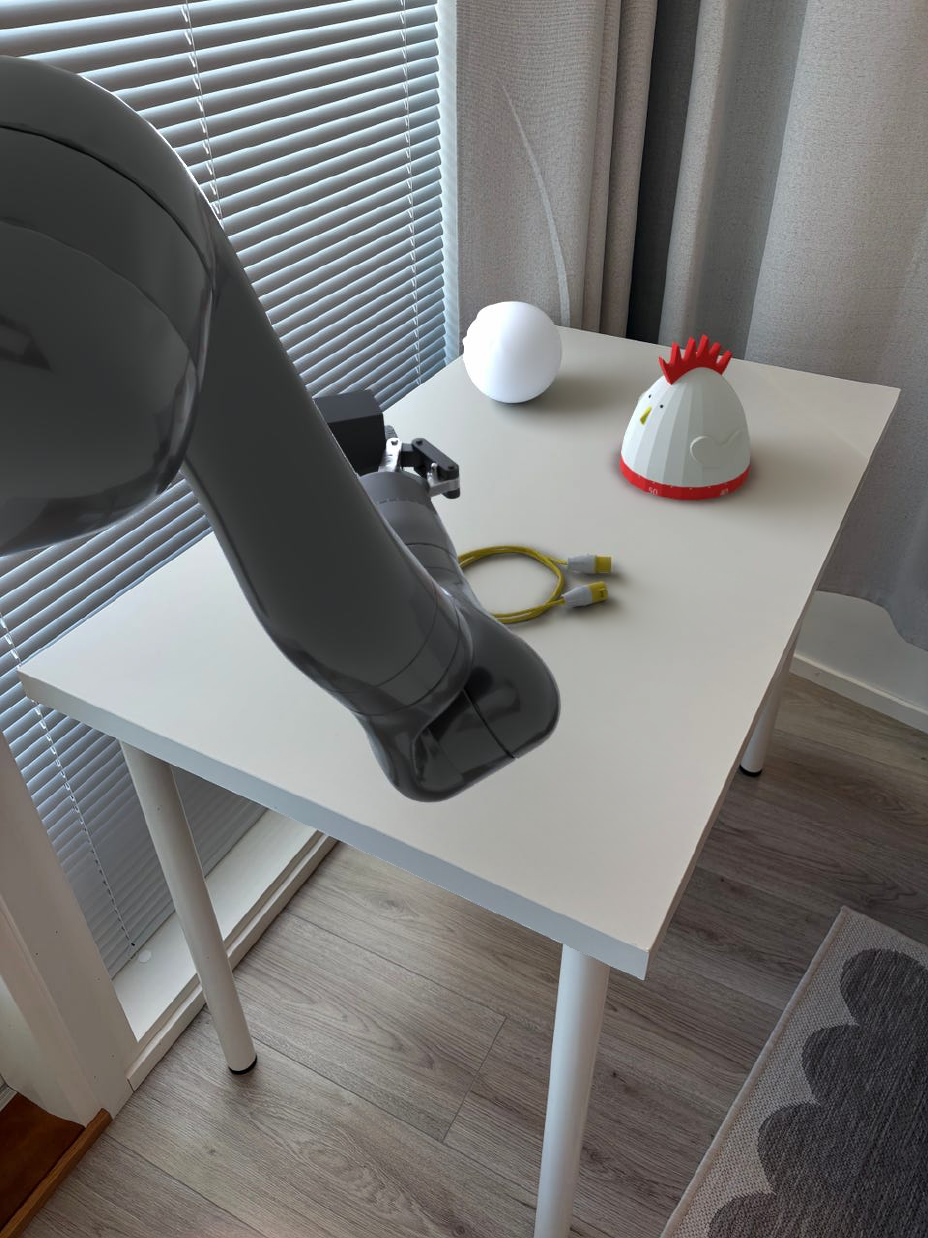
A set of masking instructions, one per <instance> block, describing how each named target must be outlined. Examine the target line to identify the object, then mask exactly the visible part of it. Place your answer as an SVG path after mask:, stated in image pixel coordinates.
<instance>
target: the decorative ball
mask: <svg viewBox="0 0 928 1238" xmlns="http://www.w3.org/2000/svg"><path fill="white" fill-rule="evenodd" d="M462 345H463V346H464V348H463V357H462V359H463V363H464V364H465V369H466V371H467V374H468V376H469V378H470V380H471V381H472V383H473V384H474V385H475V386H476V387H477V389H478V390H479V391H480V392H482V393H483V394H484V395H485V396H487V397H488V398H490V399H492V400H495V401H497V402H501V403H508V404H517V403H523V402H527V401H530V400H532V399H535V398H536V397H538V396H539V395H541V394H542V393H544V392H545V391H546V390H547V389H548V388H549V387H551V385H552V383H553V382H554V381H555V380H556V379H555V378H557V376H558V373H559V370H560V368H561V363H562V359H563V357H562V356H563V343H562V339H561V336H560V333H559V330H558V328H557V326H556V324H555V323H554V321H553V320H552V319H551V317H549V315H548V314H546V313H545V312H544V311H543V310H542V309H540V308H538V307H537V306H536V305H533V304H530V303H528V302H523V301H515V300H514V301H501V302H498V303H494V304H489V305H487V306H485V307H484V308H482V309H481V310H479V312H478V313H477V316H476V319H475V320H474V321H473V322H472V323H471V324H470V326H469V327H468V329H467V333H466V336H465V337H464V338H463V339H462Z"/></svg>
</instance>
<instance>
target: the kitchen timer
mask: <svg viewBox="0 0 928 1238" xmlns="http://www.w3.org/2000/svg"><path fill="white" fill-rule="evenodd" d="M721 351H722V344H720V343H719V342H717V341H715V342H714V343H713V345H712V347H711V348H710V338H709V337H708V336H707V335H705V334H702V336H701V337H700V341H699V344H698V347H697V341H696V339H695V338H693V337H691V336H690V337H689V339H688V341H687V344H686V347H685V351H684V354H683V357H682V351H681V348H680V345H679V344H678V343H676V342H675V341H673V342H672V345H671V351H670V357H669V362H666V360H665V359H664V358H662V357H661V356H660V355H658V362H659V367H660V368H661V371H662V373H663V375H662V376H661V377H659V378H658V379H657V380H656V381H655V382H654V383H653V384H652V385H651V386H650V388H648V389H646V390H645V391H643V392H642V394H640V396H639V398H638V401H637V405H636V407H635V409H634V411H633V414H632V416H631V418H630V421H629V422H628V425H627V427H626V431H625V434H624V437H623V441H622V446H621V451H620V460H619V461H620V462H619V468H620V470H621V473H622V476H623V477H624V478H625V479H626V480H627V481H628V482H629V483H630V484H631V485H632V486H635V487H636V488H638V489H640V491H642V492H645V493H649V494H650V495H654V496H657V497H659V498H666V499H671V500H678V501H702V500H703V501H704V500H709V499H715V498H716V499H717V498H720V497H722V496H725V495H728V494H731V493H733V492H735V491H736V490H738V489H739V488H740V487H742V486H743V485H744V483H745V481H746V480H747V478H748V476H749V472H750V465H751V441H750V439H751V438H750V431H749V427H748V422H747V417H746V412H745V409H744V406H743V404H742V402H741V400H740V398H739V396H738V395H737V393H736V391H735V390H734V388H733V386H732V385H731V383H730V382H729V381H728V380H727V379H726V378H725V377H724V376H723V374H724V373H725V371H726V369H727V367H728V366H729V364H730V362H731V360H732V357H733V353H732V352H731V351H729V350H726V351H725V352H724V353H723V355H722V356H721V357H720V359H719V355H720V353H721ZM718 359H719V360H718Z"/></svg>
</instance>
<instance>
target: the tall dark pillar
mask: <svg viewBox="0 0 928 1238" xmlns="http://www.w3.org/2000/svg"><path fill="white" fill-rule="evenodd" d="M312 398H313V400H314V402H315V404H316V406H317V407H318V409H319V411H320V413H321V415H322V416H323V418H324V420H325V422H326V423H327V425H328V427H329V429H330V430H331V432H332V434H333V436H334V437H335V439H336V441H337V442H338V444H339V446H340V448H341V449H342V451H343V453H344V454H345V456H346V458H347V460H348V461H349V463H350V465H351V466H352V468H353V469H358V468H365V467H368V466H371V465H376V464H381V459H382V454H383V450H385V448H386V447H387V445H386V436H385V426H386V425H385V418H384V417H385V416H384V413H383V411H382V409H381V407H380V405H379V403H378V401H377V399H376V397H375V395H374V392H373V391H372V389H371V388H367V389H362V390H357V391H356V390H355V391H349V392H344V393H336V394H331V395H326V396H318V397H312ZM384 425H385V426H384Z"/></svg>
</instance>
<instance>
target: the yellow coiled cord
mask: <svg viewBox="0 0 928 1238" xmlns="http://www.w3.org/2000/svg"><path fill="white" fill-rule="evenodd" d="M508 553H519V554H524V555H527V556H530V557H532V558H534V559H536V560H537V561H538V562H541V564H543V565H545V566H546V567H548V568H549V569H550V570H551V571H552V572H553V573H554V574H555V575H556V576H557V577H558V583H557V586H556V587H555V590H554V591H553V593H552V595H551V596H550V597H549V599H547V601H545V603H544V604H541V605H539V606H535V607H530V608H527V609H524V610H520V611H515V612H508V613H492V612H489V613H490V614H491V615H492V616H493V617H495V618H496V619H497V620H498V621H500V622H501V623H502V624H509V623H510V624H511V623H516V622H522V621H526V620H530V619H533V618H536V617H538V616H540V615H542V614H543V613H544V612H545V611H547V610H548V609H549V608H551V607H554V606H557V605H561V606H562V607H563V608H566V607H568V608H569V607H585V606H588V605H591V604H595V603H599V602H601V601H602V602H603V601H605V600H608V597H609V592H608V587H607V585H606V583H605V582H604V581H603V580H601V581H598V582H593V583H589V584H586V585H585V584H584V585H578V586H577V587H575V588H573V589H571V590H569V591H567V592H565V593H563V594H561V593H562V591H563V588H564V584H565V579H564V576H563V573H562V571H561V570H560V569H559V568H558V566H557V565H555V563H556V564H559V565H563V566H566V569H567V570H568V571H569V570H570V571H573V572H577V573H583V574H586V575H588V574H595V575H596V574H597V573H601V574H602V573H603V574H605V573H606V574H611V571H612V556H597V554H588V553H587V554H581V555H576V556H570V557H569V556H568V557H567V560H560V559H557V558H553V557H550V556H547V555H543V554H542V553H540V551H537V550H536V549H534V548H530V547H528V546H522V545H495V546H488V547H487V546H486V547H482V548H478V549H474V550H471V551H470V550H469V551H468V552H465V553H462V554H460V555H457V557H458V561H459V565H460V567H461V569H463V568H464V567H465V566H467V565H469V564H470V563H472V562H474V561H477V560H479V559H481V558H484V557H488V556H490V555H491V556H492V555H497V554H508ZM560 594H561V595H560ZM559 596H560V597H559ZM558 597H559V598H560V599H559V600H557V599H558ZM517 616H518V617H517ZM512 617H513V618H512Z"/></svg>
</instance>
